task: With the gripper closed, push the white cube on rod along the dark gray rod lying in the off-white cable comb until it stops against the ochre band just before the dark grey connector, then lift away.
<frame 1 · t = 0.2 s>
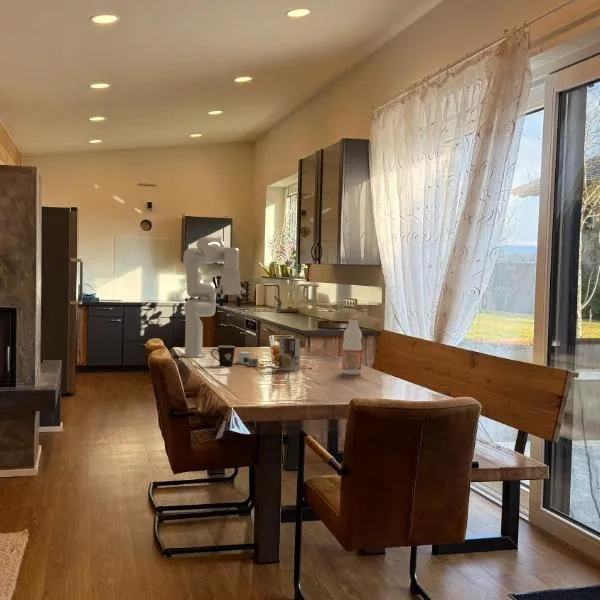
hand: (229, 306, 363), 31 cm above the table, tool pointing down, fingers open, 9 cm apart
coffee box: (289, 370, 362), on the table
cable comb: (241, 362, 382), on the table
coffee mug: (223, 366, 368), on the table
connector: (253, 366, 370), on the table
white cube on rod: (244, 357, 379), point 3 cm above the table, slide at 0.0 cm
dark gray rod: (247, 364, 376), resting on connector
fruit juice: (351, 374, 357), on the table
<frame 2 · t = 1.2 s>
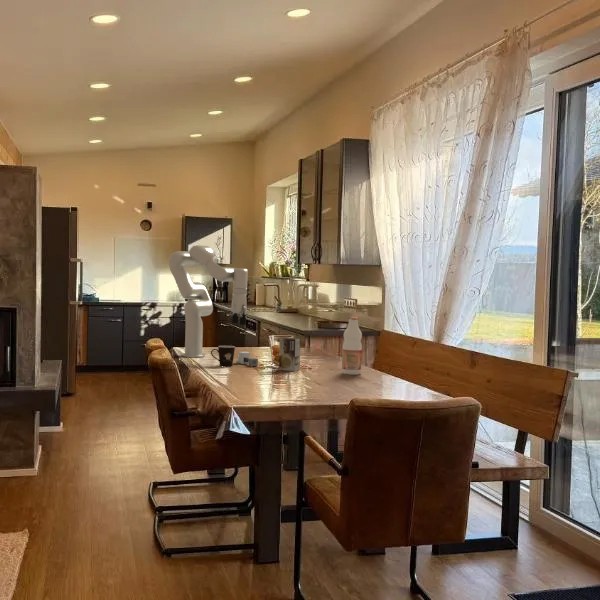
hand: (238, 323, 384), 20 cm above the table, tool pointing down, fingers open, 9 cm apart
nothing on the table moved.
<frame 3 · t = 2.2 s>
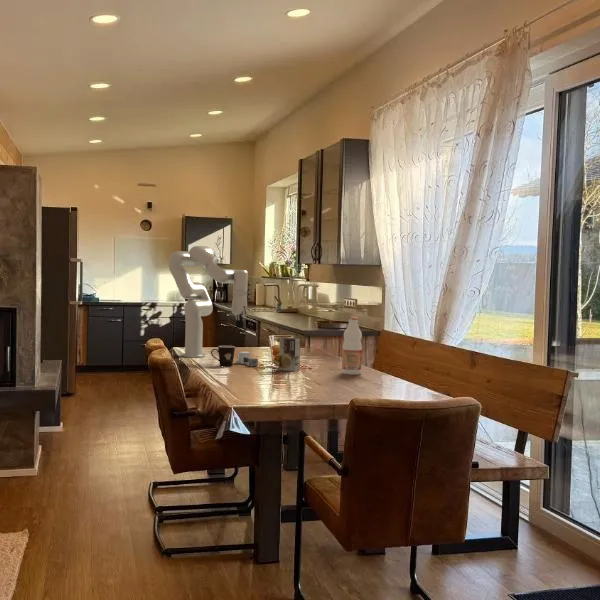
hand: (239, 327, 384), 18 cm above the table, tool pointing down, fingers closed
nothing on the table moved.
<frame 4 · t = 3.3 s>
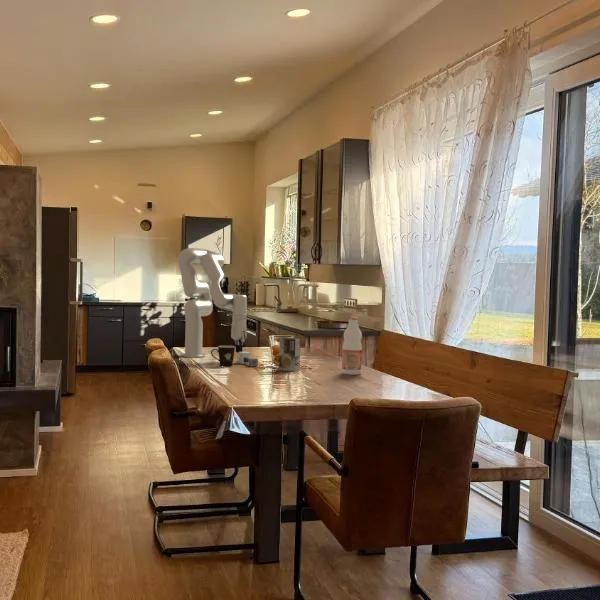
hand: (238, 352, 385), 5 cm above the table, tool pointing down, fingers closed
nothing on the table moved.
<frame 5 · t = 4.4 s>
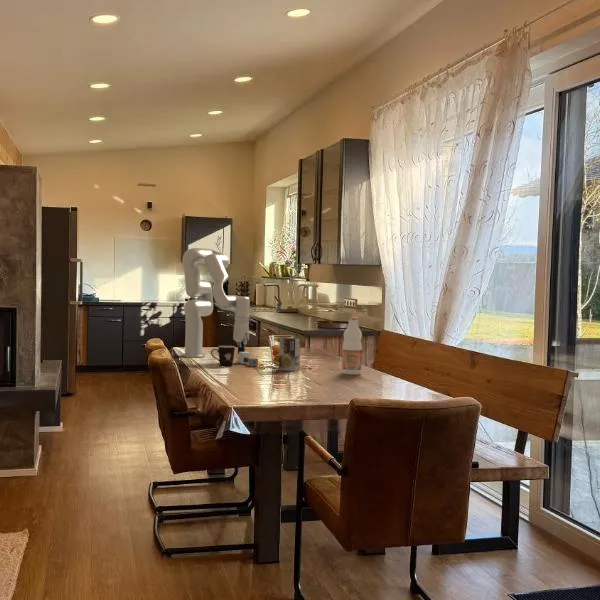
hand: (241, 354, 382), 4 cm above the table, tool pointing down, fingers closed
white cube on rod: (244, 357, 379), point 3 cm above the table, slide at 0.0 cm, touching gripper
everything else where it was.
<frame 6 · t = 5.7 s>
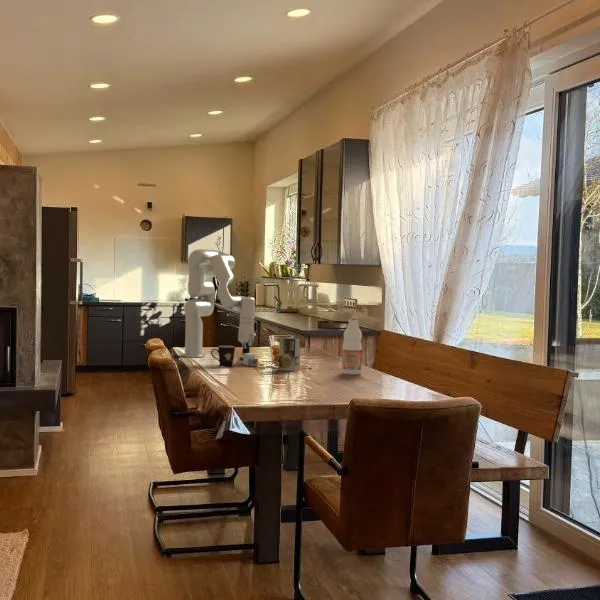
hand: (245, 355, 377), 4 cm above the table, tool pointing down, fingers closed
white cube on rod: (249, 359, 374), point 3 cm above the table, slide at 5.7 cm, touching dark gray rod, gripper
everything else where it was.
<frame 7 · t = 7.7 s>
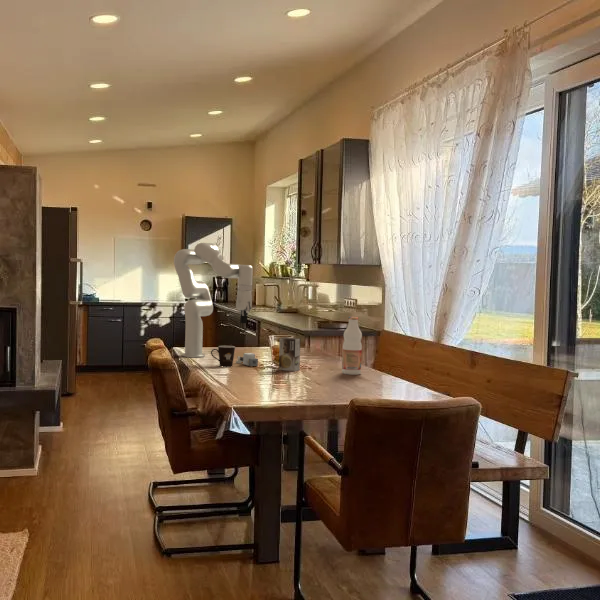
hand: (243, 323, 381), 21 cm above the table, tool pointing down, fingers closed
white cube on rod: (249, 359, 374), point 3 cm above the table, slide at 5.7 cm, touching dark gray rod
everything else where it was.
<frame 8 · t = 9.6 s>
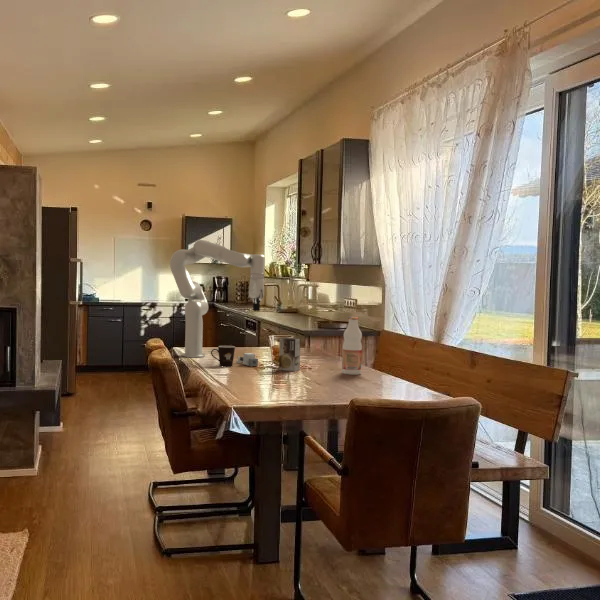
hand: (256, 310, 394), 27 cm above the table, tool pointing down, fingers closed
nothing on the table moved.
at the end: white cube on rod slide at 5.7 cm; the gripper is holding nothing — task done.
